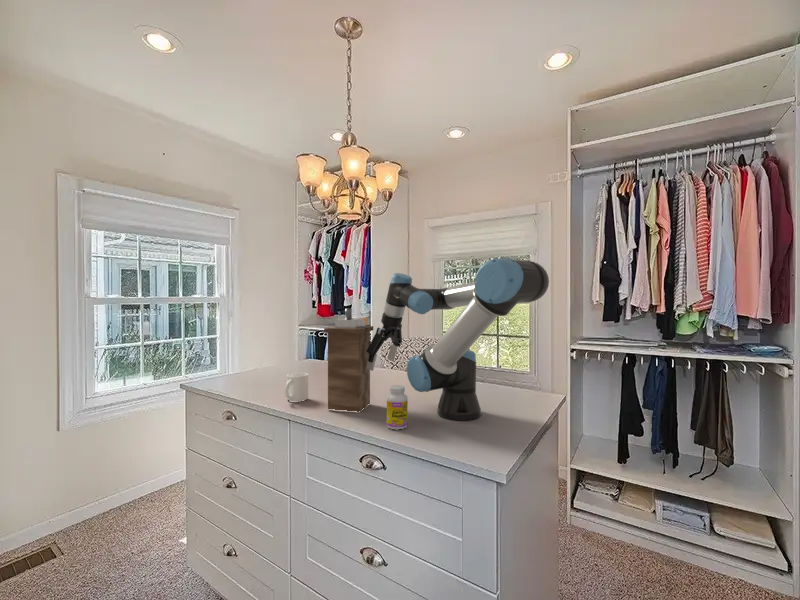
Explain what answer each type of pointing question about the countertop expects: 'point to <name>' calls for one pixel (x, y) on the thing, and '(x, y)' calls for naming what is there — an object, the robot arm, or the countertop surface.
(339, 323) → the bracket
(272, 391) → the countertop surface
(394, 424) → the supplement bottle
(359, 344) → the post
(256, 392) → the countertop surface
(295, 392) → the mug
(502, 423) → the countertop surface
